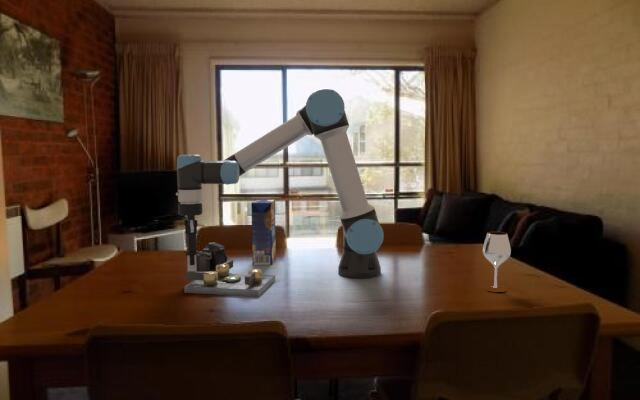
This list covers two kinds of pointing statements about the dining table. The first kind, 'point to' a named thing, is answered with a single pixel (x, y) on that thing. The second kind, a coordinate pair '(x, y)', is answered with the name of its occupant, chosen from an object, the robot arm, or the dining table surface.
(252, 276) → the knob arm
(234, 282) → the level plate
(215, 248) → the camera
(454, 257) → the dining table surface
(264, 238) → the juice carton
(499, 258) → the wineglass
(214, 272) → the knob near
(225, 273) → the knob far
